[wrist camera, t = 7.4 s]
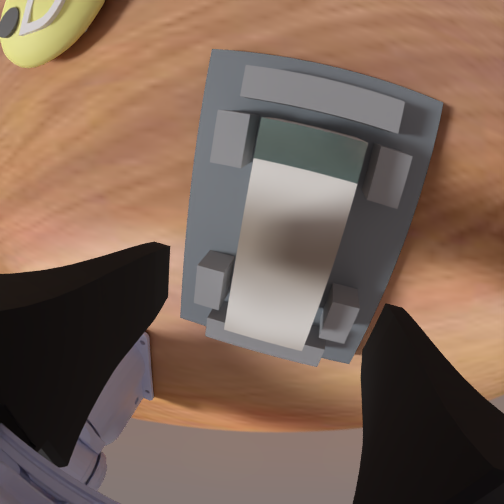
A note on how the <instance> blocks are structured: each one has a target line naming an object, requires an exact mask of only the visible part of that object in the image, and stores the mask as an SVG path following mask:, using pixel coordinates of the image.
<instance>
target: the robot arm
mask: <svg viewBox="0 0 504 504" xmlns="http://www.w3.org/2000/svg"><path fill="white" fill-rule="evenodd" d="M169 259H170V246H167V245H164V244H160V243H157V242H150V243H145V244H141V245H138V246H134V247H131V248H128V249H124V250H121V251H118V252H114V253H111V254H108V255H105V256H101V257H98V258H94V259H90V260H87V261H83V262H79V263H76V264H72V265H67V266H63V267H58V268H52V269H47V270H41V271H32V272H23V273H13V274H0V504H120V503H118V502H116V501H114V500H112V499H110V498H108V497H106V496H105V495H103V494H101V493H99V492H97V490H98V489H99V487H100V486H101V484H102V482H103V480H104V478H105V475H106V471H107V464H106V456H105V454H104V453H103V452H101V451H102V449H103V447H104V446H105V445H108V444H110V443H112V442H113V441H115V440H116V439H117V438H118V437H119V435H120V434H121V432H122V431H123V429H124V427H125V426H126V424H127V423H128V421H129V419H130V418H131V416H132V415H133V413H134V412H135V410H136V408H137V407H138V405H139V404H140V402H141V400H142V399H143V398H145V399H148V400H153V398H154V393H153V382H152V370H151V356H150V339H149V335H148V334H147V333H146V332H145V331H146V330H147V328H148V327H149V326H150V325H151V323H152V322H153V321H154V319H155V318H156V316H157V315H158V313H159V311H160V310H161V308H162V306H163V305H164V303H165V301H166V299H167V298H168V282H169ZM361 392H362V414H363V446H362V454H361V462H360V470H359V475H358V481H357V486H356V491H355V496H354V500H353V504H504V414H503V413H502V412H501V411H500V410H498V409H497V408H496V407H495V406H494V405H492V404H491V403H490V402H489V401H488V400H486V399H485V398H484V397H483V396H482V395H481V394H480V393H479V392H478V391H477V390H476V389H474V388H473V387H472V386H471V385H470V384H469V383H468V382H467V381H466V380H465V379H464V378H463V377H462V376H461V375H460V373H459V372H458V371H457V370H456V369H455V368H454V367H453V366H452V365H451V363H450V362H449V361H448V360H447V359H446V358H445V357H444V356H443V354H442V353H441V352H440V351H439V350H438V348H437V347H436V346H435V345H434V344H433V342H432V341H431V340H430V339H429V337H428V336H427V335H426V334H425V333H424V331H423V330H422V329H421V328H420V327H419V325H418V324H417V323H416V322H415V321H414V319H413V318H412V317H411V316H410V315H409V314H408V313H407V312H406V311H405V310H404V309H403V308H402V307H398V306H394V305H390V304H385V306H384V308H383V310H382V312H381V314H380V317H379V319H378V321H377V323H376V325H375V327H374V329H373V331H372V333H371V335H370V337H369V339H368V341H367V343H366V345H365V347H364V348H363V351H362V364H361Z"/></svg>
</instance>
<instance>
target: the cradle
mask: <svg viewBox="0 0 504 504" xmlns="http://www.w3.org/2000/svg"><path fill="white" fill-rule="evenodd" d="M442 107H443V102H440V101H438V100H436V99H433V98H431V97H428V96H426V95H423V94H421V93H418V92H415V91H413V90H410V89H407V88H404V87H401V86H399V85H396V84H393V83H390V82H386V81H383V80H380V79H377V78H374V77H370V76H367V75H363V74H360V73H356V72H352V71H349V70H345V69H341V68H337V67H332V66H328V65H324V64H319V63H314V62H309V61H304V60H299V59H293V58H288V57H281V56H275V55H268V54H260V53H252V52H243V51H232V50H219V49H212V52H211V57H210V63H209V68H208V74H207V79H206V85H205V91H204V97H203V103H202V109H201V115H200V122H199V129H198V136H197V143H196V150H195V157H194V165H193V173H192V182H191V190H190V199H189V209H188V219H187V229H186V240H185V252H184V265H183V280H182V296H181V315H180V318H183V319H186V320H189V321H192V322H195V323H198V324H201V325H204V326H206V334H205V336H207V337H210V338H213V339H216V340H219V341H223V342H226V343H229V344H232V345H236V346H239V347H243V348H246V349H250V350H253V351H257V352H260V353H264V354H267V355H271V356H275V357H279V358H282V359H286V360H290V361H294V362H298V363H302V364H306V365H311V366H315V367H317V366H318V364H319V361H320V359H321V358H324V359H329V360H333V361H338V362H342V363H347V364H349V363H350V361H351V359H352V358H353V356H354V354H355V352H356V350H357V348H358V346H359V344H360V342H361V340H362V338H363V336H364V334H365V332H366V330H367V328H368V326H369V324H370V322H371V320H372V317H373V315H374V313H375V311H376V309H377V307H378V304H379V302H380V300H381V298H382V295H383V293H384V291H385V288H386V286H387V284H388V281H389V279H390V277H391V274H392V272H393V269H394V267H395V264H396V262H397V259H398V257H399V254H400V252H401V249H402V246H403V244H404V241H405V238H406V235H407V233H408V230H409V227H410V224H411V221H412V218H413V215H414V212H415V209H416V206H417V203H418V200H419V197H420V194H421V191H422V187H423V184H424V180H425V177H426V174H427V170H428V166H429V163H430V159H431V155H432V151H433V147H434V143H435V139H436V135H437V131H438V126H439V122H440V117H441V112H442ZM261 117H267V118H280V119H285V120H289V121H294V122H299V123H303V124H307V125H312V126H316V127H320V128H324V129H328V130H332V131H336V132H339V133H343V134H347V135H350V136H354V137H357V138H359V139H361V140H363V141H365V142H367V143H368V145H367V149H366V153H365V157H364V161H363V165H362V169H361V172H360V176H359V180H358V184H357V187H356V191H355V195H354V198H353V202H352V205H351V209H350V212H349V215H348V219H347V222H346V225H345V229H344V232H343V235H342V239H341V242H340V245H339V248H338V251H337V254H336V257H335V261H334V264H333V267H332V270H331V273H330V276H329V279H328V281H327V284H326V287H325V290H324V293H323V296H322V299H321V302H320V304H319V307H318V310H317V313H316V315H315V318H314V321H313V323H312V326H311V329H310V331H309V334H308V337H307V339H306V342H305V344H304V347H303V350H302V351H299V350H295V349H291V348H287V347H284V346H280V345H276V344H272V343H269V342H265V341H261V340H258V339H254V338H251V337H247V336H244V335H240V334H237V333H234V332H230V331H227V330H224V326H225V320H226V314H227V308H228V302H229V296H230V290H231V284H232V278H233V272H234V266H235V260H236V254H237V249H238V243H239V237H240V231H241V226H242V220H243V214H244V209H245V203H246V197H247V192H248V186H249V181H250V175H251V170H252V164H253V159H254V153H255V148H256V143H257V137H258V132H259V127H260V121H261Z"/></svg>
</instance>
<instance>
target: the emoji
mask: <svg viewBox="0 0 504 504" xmlns="http://www.w3.org/2000/svg"><path fill="white" fill-rule="evenodd" d="M104 2H105V0H6V2H5V5H4V8H3V12H2V16H1V22H0V40H1V45H2V48H3V51H4V54H5V55H6V57H7V58H8V59H9V60H10V61H11V62H13V63H14V64H15V65H17V66H20V67H23V68H33V67H38V66H40V65H43V64H45V63H47V62H49V61H51V60H53V59H54V58H56V57H57V56H59V55H60V54H62V53H63V52H64V51H66V50H67V49H68V48H69V47H70V46H72V45H73V44H74V43H75V42H76V41H77V40H78V39H79V38H80V36H81V35H82V34H83V33H84V32H87V28H88V27H89V25H90V24H91V23H92V21H93V20H94V18H95V17H96V15H97V14H98V12H99V11H100V9H101V8H102V6H103V4H104Z"/></svg>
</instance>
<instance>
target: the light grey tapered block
mask: <svg viewBox="0 0 504 504" xmlns="http://www.w3.org/2000/svg"><path fill="white" fill-rule="evenodd" d="M367 145H368V143H367V142H365V141H363V140H361V139H359V138H357V137H354V136H350V135H347V134H343V133H339V132H336V131H332V130H328V129H324V128H320V127H316V126H312V125H307V124H303V123H299V122H294V121H289V120H285V119H280V118H267V117H261V121H260V127H259V132H258V137H257V143H256V148H255V153H254V159H253V164H252V170H251V175H250V181H249V186H248V192H247V197H246V203H245V209H244V214H243V220H242V226H241V231H240V237H239V243H238V249H237V254H236V260H235V266H234V272H233V278H232V284H231V290H230V296H229V302H228V308H227V314H226V320H225V326H224V330H227V331H230V332H234V333H237V334H240V335H244V336H247V337H251V338H254V339H258V340H261V341H265V342H269V343H272V344H276V345H280V346H284V347H287V348H291V349H295V350H299V351H302V350H303V347H304V344H305V342H306V339H307V337H308V334H309V331H310V329H311V326H312V323H313V321H314V318H315V315H316V313H317V310H318V307H319V304H320V302H321V299H322V296H323V293H324V290H325V287H326V284H327V281H328V279H329V276H330V273H331V270H332V267H333V264H334V261H335V257H336V254H337V251H338V248H339V245H340V242H341V239H342V235H343V232H344V229H345V225H346V222H347V219H348V215H349V212H350V209H351V205H352V202H353V198H354V195H355V191H356V187H357V184H358V180H359V176H360V172H361V169H362V165H363V161H364V157H365V153H366V149H367Z"/></svg>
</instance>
